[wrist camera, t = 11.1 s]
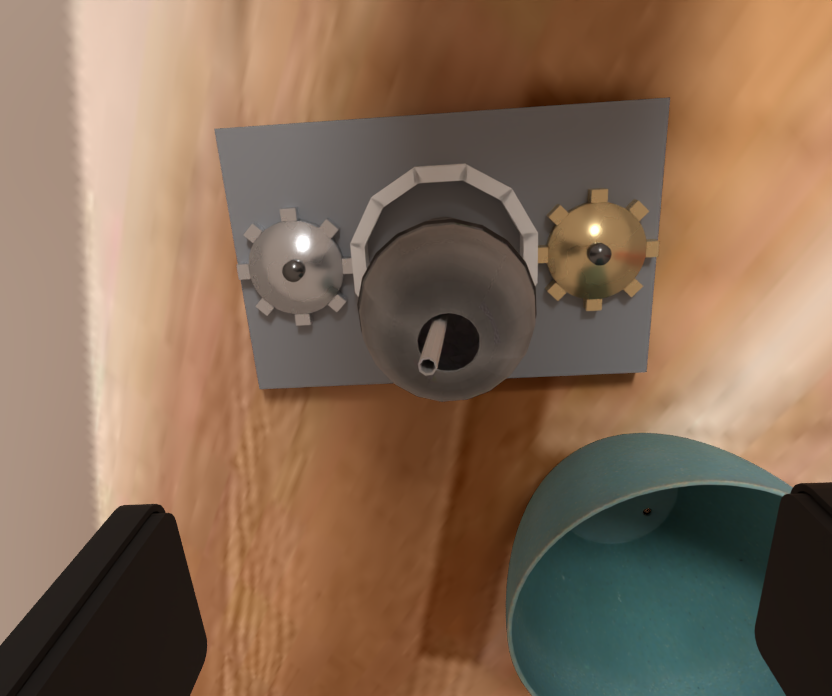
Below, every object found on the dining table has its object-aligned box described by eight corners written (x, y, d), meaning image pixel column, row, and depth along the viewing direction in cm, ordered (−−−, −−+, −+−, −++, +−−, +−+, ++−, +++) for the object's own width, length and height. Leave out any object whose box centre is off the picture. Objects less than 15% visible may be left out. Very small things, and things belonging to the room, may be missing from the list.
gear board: (223, 129, 33) (204, 128, 30) (659, 99, 32) (681, 95, 29) (266, 380, 38) (252, 399, 36) (638, 363, 37) (655, 381, 34)
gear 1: (231, 210, 33) (222, 214, 31) (350, 203, 33) (346, 206, 31) (251, 324, 35) (243, 332, 34) (361, 318, 35) (358, 326, 34)
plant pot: (771, 543, 42) (899, 697, 30) (541, 619, 45) (577, 783, 33) (703, 333, 36) (828, 423, 25) (447, 437, 40) (451, 559, 28)
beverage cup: (425, 334, 35) (411, 556, 17) (358, 236, 33) (258, 361, 15) (527, 273, 34) (640, 442, 15) (464, 166, 32) (503, 206, 13)
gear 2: (533, 192, 32) (538, 194, 31) (659, 184, 32) (670, 186, 30) (532, 309, 34) (537, 317, 33) (648, 304, 34) (658, 311, 33)
